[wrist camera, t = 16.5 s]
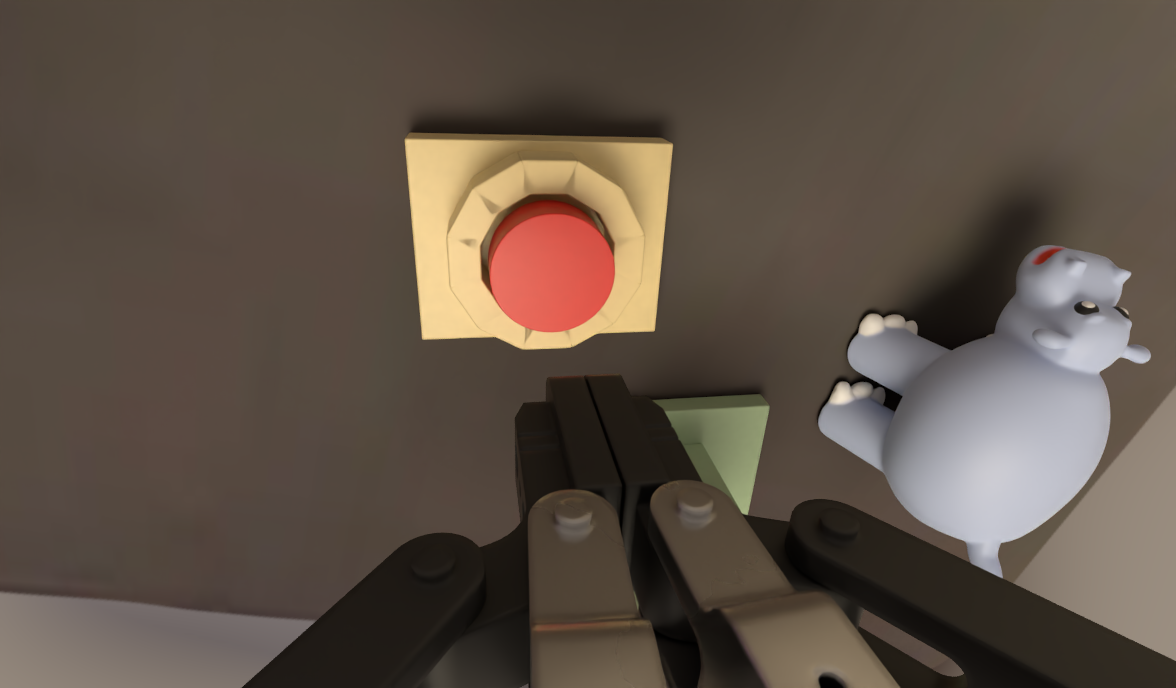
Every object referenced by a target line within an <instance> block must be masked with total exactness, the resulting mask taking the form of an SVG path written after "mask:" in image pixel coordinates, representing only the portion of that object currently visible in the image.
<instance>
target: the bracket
mask: <svg viewBox="0 0 1176 688" xmlns="http://www.w3.org/2000/svg"><path fill="white" fill-rule="evenodd" d="M652 401H654V402H655V403H656V404H658V405H659V406H660V407H662V408H663V409H664V411H665V413H666V415H667V417H668V418H669V420H670V422H671V424H672V427H673V428H674V430H675V431H676V433H677V435H678V439H679V440H680V441H681V443H682V444H683V446H684V448H685V450H686V452H687V454H688V455H689V457H690V459H691V461H692V463H693V465H694V467H695V468H696V470H697V472H698V474H699V476H700V478H701V480H702V481H703V483H706V484H709V485H712V486H714V487H716V488H718V489H720V490H721V491H722V492H724V493H725V494H726V495H727V496H729V497H730V499H731V500H732V501H733V502H734V504H735V505H736V506H737V508H738V509H739V511H740V512H741V513H742V514H746V515H748V511H749V506H750V501H751V496H752V491H753V486H754V481H755V477H756V472H757V467H758V462H759V457H760V452H761V447H762V442H763V437H764V432H765V427H766V422H767V417H768V413H769V408H770V406H769V404H768V403H767V402H766V400H765V399H764V398H763V397H762V396H761V395H760V394H752V395H734V396H716V397H697V398H679V399H661V400H652ZM634 595H635V600H636V605H637V609H638V606H639V604H638V601H637V598H636V594H635V591H634Z"/></svg>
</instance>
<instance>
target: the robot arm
mask: <svg viewBox="0 0 1176 688" xmlns="http://www.w3.org/2000/svg"><path fill="white" fill-rule="evenodd" d="M515 471H516V487H517V496H518V505H519V512H520V522H521V523H520V524H519V526H518V527H517V528H516V529H515V530H514V531H512V532H511V533H510V534H509V535H507V536H505V537H504V538H502V539H500V540H498V541H496V542H493V543H491V544H488V545H485V546H483V547H480V548H479V547H478V546H477V545H476V544H475V543H474V542H473V541H471V540H470V539H468V538H466V537H463V536H461V535H457V534H452V533H433V534H427V535H423V536H420V537H417V538H415V539H412V540H410V541H408V542H407V543H405V544H403V545H402V546H400V547H399V548H398V549H397V550H395V551H394V552H393V553H392V554H391V555H390V556H389V557H387V558H386V559H385V560H384V561H383V562H382V563H381V564H380V565H379V566H377V567H376V568H375V569H374V570H373V571H372V572H371V573H370V574H368V575H367V576H366V577H365V578H364V579H363V580H362V581H361V582H359V583H358V584H357V585H356V586H355V587H354V588H353V589H352V590H351V591H349V592H348V593H347V594H346V595H345V596H344V597H343V598H342V599H340V600H339V601H338V602H337V603H336V604H335V605H334V606H333V607H331V608H330V609H329V610H328V611H327V612H326V613H325V614H324V615H322V616H321V617H320V618H319V619H318V620H317V621H316V622H315V623H314V624H313V625H311V626H310V627H309V628H308V629H307V630H306V631H305V632H303V633H302V634H301V635H300V636H299V637H298V638H297V639H296V640H295V641H293V642H292V643H291V644H290V645H289V646H288V647H287V648H285V649H284V650H283V651H282V652H281V653H280V654H279V655H278V656H277V657H275V658H274V659H273V660H272V661H271V662H270V663H269V664H268V665H266V666H265V667H264V668H263V669H262V670H261V671H260V672H259V673H257V674H256V675H255V676H254V677H253V678H252V679H251V680H250V681H249V682H247V683H246V684H245V685H244V686H243V687H242V688H520V687H522V686H524V685H526V684H528V687H529V688H1176V661H1174V660H1172V659H1170V658H1168V657H1166V656H1164V655H1162V654H1160V653H1158V652H1155V651H1153V650H1151V649H1149V648H1147V647H1145V646H1143V645H1141V644H1139V643H1137V642H1135V641H1133V640H1130V639H1128V638H1126V637H1124V636H1122V635H1120V634H1118V633H1116V632H1114V631H1112V630H1109V629H1107V628H1105V627H1103V626H1101V625H1099V624H1097V623H1095V622H1093V621H1091V620H1088V619H1086V618H1084V617H1082V616H1080V615H1078V614H1076V613H1074V612H1072V611H1070V610H1068V609H1066V608H1063V607H1061V606H1059V605H1057V604H1055V603H1053V602H1051V601H1049V600H1047V599H1045V598H1043V597H1040V596H1038V595H1036V594H1034V593H1032V592H1030V591H1028V590H1026V589H1024V588H1021V587H1020V586H1017V585H1015V584H1013V583H1011V582H1009V581H1007V580H1005V579H1003V578H1001V577H999V576H996V575H994V574H992V573H990V572H988V571H986V570H984V569H982V568H980V567H978V566H976V565H973V564H971V563H969V562H967V561H965V560H963V559H961V558H959V557H957V556H955V555H953V554H950V553H948V552H946V551H944V550H942V549H940V548H938V547H936V546H934V545H932V544H929V543H927V542H925V541H923V540H921V539H919V538H917V537H915V536H913V535H911V534H909V533H906V532H904V531H902V530H900V529H898V528H896V527H894V526H892V525H890V524H888V523H886V522H883V521H881V520H879V519H877V518H875V517H873V516H871V515H869V514H867V513H865V512H863V511H860V510H858V509H856V508H854V507H852V506H849V505H847V504H844V503H841V502H838V501H833V500H826V499H814V500H808V501H805V502H802V503H800V504H799V505H797V506H796V507H795V508H794V510H793V511H792V515H791V518H790V522H787V521H780V520H774V519H767V518H760V517H754V516H749V515H746V514H742V513H741V512H740V511H739V509H738V508H737V506H736V505H735V504H734V502H733V501H732V500H731V499H730V497H729V496H727V495H726V494H725V493H724V492H722V491H721V490H720V489H718V488H716V487H714V486H712V485H709V484H706V483H703V481H702V480H701V478H700V476H699V474H698V472H697V470H696V468H695V467H694V465H693V463H692V461H691V459H690V457H689V455H688V454H687V452H686V450H685V448H684V446H683V444H682V443H681V441H680V440H679V439H678V435H677V433H676V431H675V430H674V428H673V427H672V424H671V422H670V420H669V418H668V417H667V415H666V413H665V411H664V409H663V408H662V407H660V406H659V405H658V404H656V403H655V402H654V401H652V400H651V399H650V398H649V397H647V396H634V397H631V395H630V393H629V391H628V389H627V387H626V385H625V382H624V380H623V378H622V376H621V375H620V374H603V375H585V376H584V377H583V376H565V377H548V378H547V381H546V402H530V403H523V405H522V406H521V408H520V410H519V412H518V413H517V415H516V417H515ZM634 591H635V594H636V598H637V601H638V604H639V606H638V609H637V605H636V600H635V595H634ZM864 609H865V610H867V611H869V612H871V613H873V614H874V615H876V616H878V617H880V618H881V619H883V620H885V621H887V622H888V623H890V624H892V625H894V626H895V627H897V628H899V629H901V630H902V631H904V632H906V633H908V634H909V635H911V636H913V637H915V638H916V639H918V640H920V641H922V642H923V643H925V644H927V645H929V646H930V647H932V648H934V649H936V650H937V651H939V652H941V653H943V654H944V655H946V656H948V657H949V658H951V659H952V660H953V661H954V662H955V663H956V664H957V665H958V666H959V667H960V668H961V669H962V671H963V672H964V674H963V675H961V676H957V677H951V676H945V675H942V674H940V673H938V672H936V671H934V670H932V669H931V668H929V667H927V666H925V665H924V664H922V663H920V662H919V661H917V660H915V659H914V658H912V657H910V656H909V655H907V654H905V653H903V652H902V651H900V650H898V649H897V648H895V647H893V646H892V645H890V644H888V643H886V642H885V641H883V640H881V639H880V638H878V637H876V636H875V635H873V634H871V633H869V632H868V631H866V630H864V629H863V628H861V627H859V623H860V620H861V617H862V614H863V612H864Z"/></svg>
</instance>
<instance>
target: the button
mask: <svg viewBox="0 0 1176 688" xmlns="http://www.w3.org/2000/svg"><path fill="white" fill-rule="evenodd" d="M488 263H489V277H490V285H491V289H492V293H493V295H494V298H495V300H496V302H497V303H498V305H499V307H500V308H501V309H502V311H503V312H504V313H505V314H506V315H507V316H508V317H509V318H510V319H512V320H513V321H514V322H516V323H518V324H519V325H521V326H523V327H526V328H528V329H531V330H535V331H540V332H561V331H566V330H570V329H572V328H575V327H577V326H580V325H582V324H583V323H585V322H587V321H588V320H590V319H591V318H592V317H593V316H594V315H596V313H597V312H598V311H599V310H600V309H601V308H602V307H603V305H604V304H605V302H606V301H607V299H608V297H609V295H610V293H611V290H612V287H613V283H614V278H615V263H614V258H613V254H612V251H611V249H610V246H609V244H608V242H607V241H606V239H605V238H604V236H603V235H602V233H601V232H600V230H599V229H598V227H597V226H596V224H595V223H594V222H593V220H592V219H591V218H590V217H589V216H588V215H587V214H586V213H585V212H583V211H582V210H580V209H579V208H577V207H575V206H573V205H571V204H568V203H565V202H562V201H557V200H540V201H535V202H531V203H528V204H525V205H523V206H521V207H519V208H517V209H515V210H514V211H512V212H511V213H510V214H509V215H508V216H506V217H505V218H504V219H503V221H502V222H501V223H500V224H499V226H498V227H497V229H496V230H495V232H494V234H493V236H492V239H491V242H490V246H489V253H488Z"/></svg>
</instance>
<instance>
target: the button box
mask: <svg viewBox="0 0 1176 688" xmlns="http://www.w3.org/2000/svg"><path fill="white" fill-rule="evenodd" d="M672 150H673V144H672V143H670V142H668V141H666V140H665V139H663V138H649V137H599V136H550V135H500V134H450V133H409V134H408V135H407V137H406V138H405V151H406V162H407V173H408V184H409V196H410V207H411V218H412V229H413V241H414V252H415V263H416V274H417V286H418V297H419V308H420V319H421V331H422V339H449V338H477V337H497V338H499V339H501V340H503V341H505V342H507V343H510V344H512V345H514V346H516V347H518V348H520V349H550V348H570V347H571V346H572V347H573V346H575V345H577V344H579V343H581V342H583V341H584V340H586V339H588V338H590V337H592V336H593V335H595V334H597V333H619V332H647V331H655V323H656V312H657V302H658V292H659V282H660V272H661V262H662V251H663V241H664V231H665V221H666V211H667V201H668V190H669V180H670V170H671V160H672ZM540 200H557V201H562V202H565V203H568V204H571V205H573V206H575V207H577V208H579V209H580V210H582V211H583V212H585V213H586V214H587V215H588V216H589V217H590V218H591V219H592V220H593V222H594V223H595V224H596V226H597V227H598V229H599V230H600V232H601V233H602V235H603V236H604V238H605V239H606V241H607V242H608V244H609V246H610V249H611V251H612V254H613V258H614V263H615V278H614V283H613V287H612V290H611V293H610V295H609V297H608V299H607V301H606V302H605V304H604V305H603V307H602V308H601V309H600V310H599V311H598V312H597V313H596V315H594V316H593V317H592V318H591V319H590V320H588V321H587V322H585V323H583V324H582V325H580V326H577V327H575V328H572V329H570V330H566V331H561V332H540V331H535V330H531V329H528V328H526V327H523V326H521V325H519V324H518V323H516V322H514V321H513V320H512V319H510V318H509V317H508V316H507V315H506V314H505V313H504V312H503V311H502V309H501V308H500V307H499V305H498V303H497V302H496V300H495V298H494V295H493V293H492V289H491V285H490V277H489V263H488V253H489V246H490V242H491V239H492V236H493V234H494V232H495V230H496V229H497V227H498V226H499V224H500V223H501V222H502V221H503V219H504V218H505V217H506V216H508V215H509V214H510V213H511V212H512V211H514V210H515V209H517V208H519V207H521V206H523V205H525V204H528V203H531V202H535V201H540Z"/></svg>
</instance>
